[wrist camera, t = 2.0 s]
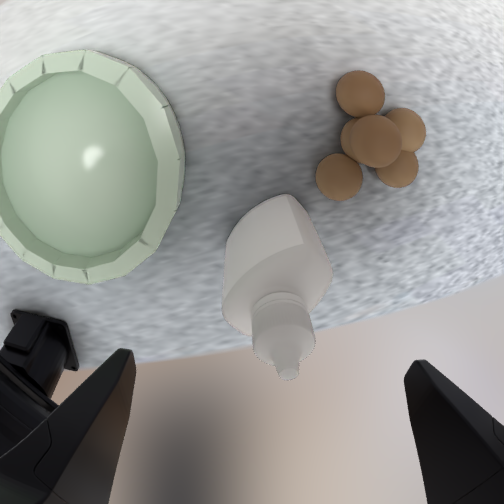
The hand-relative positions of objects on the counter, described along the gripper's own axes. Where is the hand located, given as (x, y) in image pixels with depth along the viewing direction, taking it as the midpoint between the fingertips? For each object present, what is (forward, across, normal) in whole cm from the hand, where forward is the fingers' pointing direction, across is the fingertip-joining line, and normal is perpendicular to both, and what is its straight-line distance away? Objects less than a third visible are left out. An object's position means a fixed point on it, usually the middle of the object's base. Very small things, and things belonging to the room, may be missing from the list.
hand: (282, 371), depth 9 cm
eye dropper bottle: (+13, 0, +1) cm, 13 cm away
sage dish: (+13, +12, -2) cm, 18 cm away
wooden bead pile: (+13, -5, -5) cm, 15 cm away
